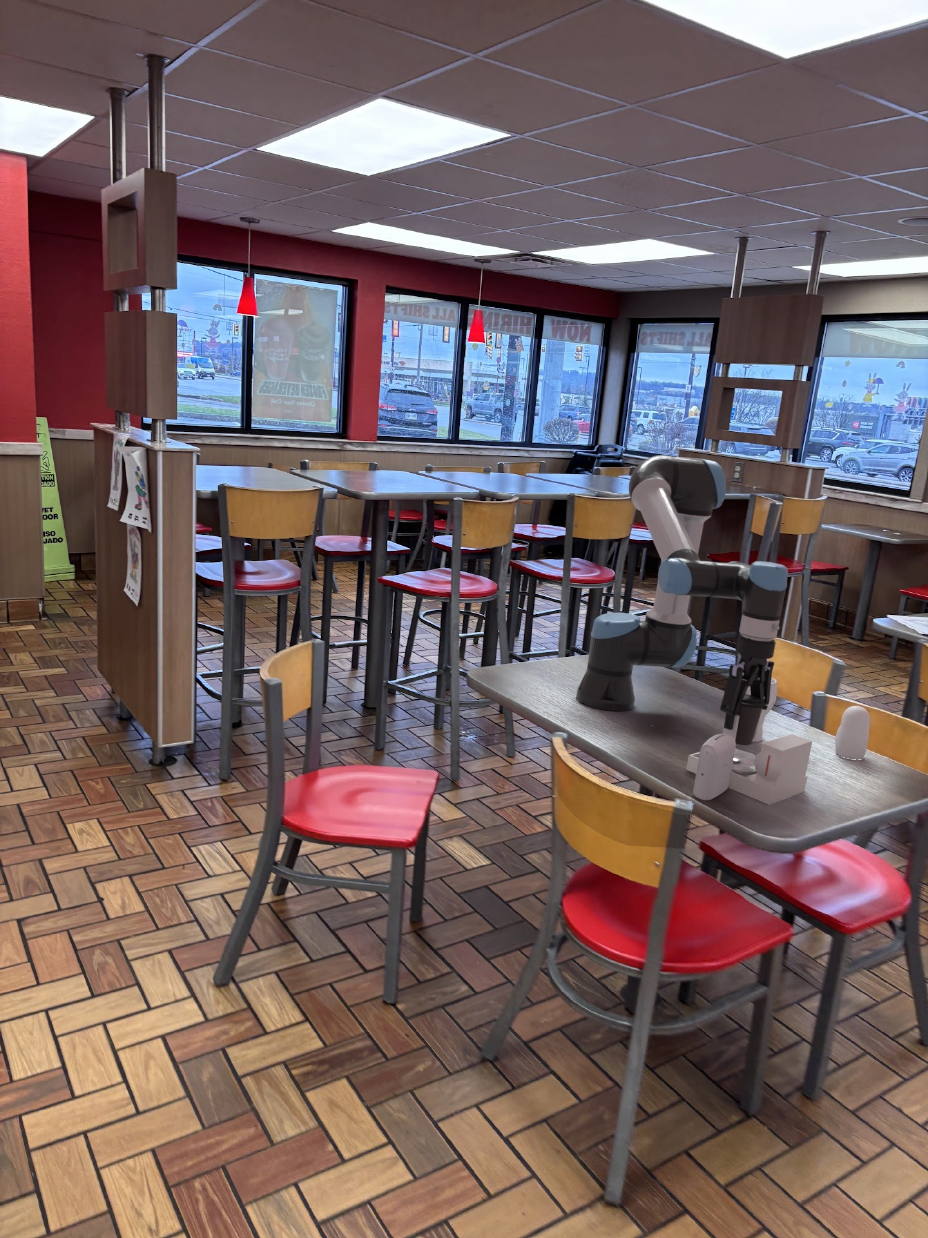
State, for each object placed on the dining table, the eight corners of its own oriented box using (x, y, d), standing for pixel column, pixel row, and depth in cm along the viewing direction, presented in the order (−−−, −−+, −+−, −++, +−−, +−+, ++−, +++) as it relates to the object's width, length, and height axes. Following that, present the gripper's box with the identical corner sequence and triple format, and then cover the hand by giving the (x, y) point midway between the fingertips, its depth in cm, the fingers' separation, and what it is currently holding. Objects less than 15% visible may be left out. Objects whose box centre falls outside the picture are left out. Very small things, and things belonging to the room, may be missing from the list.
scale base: (686, 769, 196) (694, 719, 193) (722, 758, 205) (730, 710, 202) (773, 806, 181) (783, 753, 178) (807, 792, 190) (818, 741, 188)
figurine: (863, 753, 219) (873, 706, 216) (866, 763, 212) (876, 715, 209) (832, 747, 221) (841, 700, 218) (834, 757, 214) (844, 708, 211)
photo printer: (709, 803, 179) (719, 744, 176) (689, 795, 182) (699, 737, 179) (730, 790, 187) (741, 733, 184) (711, 783, 190) (721, 727, 187)
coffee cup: (738, 749, 188) (746, 703, 186) (711, 735, 195) (718, 691, 193) (766, 746, 192) (774, 701, 190) (738, 732, 199) (746, 689, 197)
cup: (770, 747, 216) (782, 687, 213) (725, 740, 218) (735, 680, 215) (765, 733, 226) (776, 675, 223) (721, 726, 228) (732, 669, 225)
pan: (693, 767, 195) (695, 753, 195) (724, 757, 203) (726, 744, 203) (742, 787, 187) (745, 773, 186) (772, 776, 195) (775, 762, 194)
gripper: (746, 645, 179) (727, 754, 184) (799, 637, 193) (780, 738, 198) (713, 636, 184) (696, 742, 189) (767, 628, 198) (749, 727, 203)
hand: (739, 739), depth 193 cm, fingers closed on coffee cup, 8 cm apart
